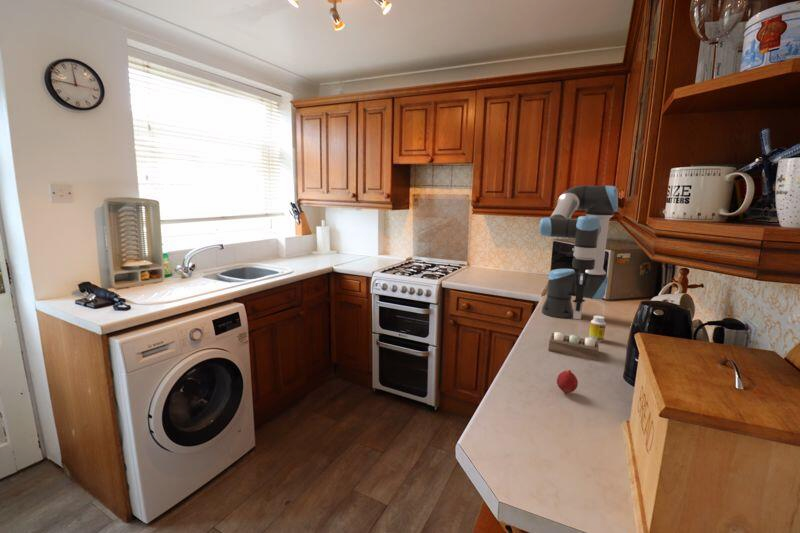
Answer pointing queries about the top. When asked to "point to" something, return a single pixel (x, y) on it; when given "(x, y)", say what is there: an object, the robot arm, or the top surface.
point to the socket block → (574, 348)
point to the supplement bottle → (597, 328)
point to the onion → (567, 381)
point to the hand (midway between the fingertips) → (576, 318)
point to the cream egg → (559, 336)
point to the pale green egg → (574, 339)
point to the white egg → (590, 341)
